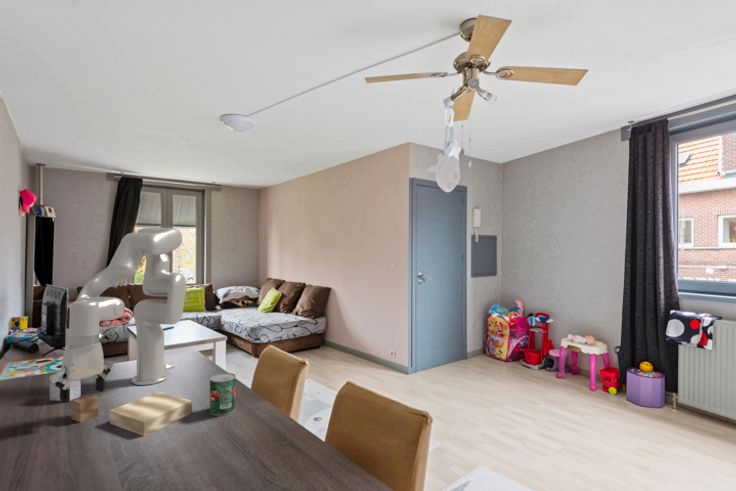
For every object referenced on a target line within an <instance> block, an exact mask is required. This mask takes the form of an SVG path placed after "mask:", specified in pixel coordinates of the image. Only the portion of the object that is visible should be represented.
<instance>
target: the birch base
mask: <svg viewBox="0 0 736 491" xmlns="http://www.w3.org/2000/svg"><path fill="white" fill-rule="evenodd" d="M192 413H193V400H190V399H186V398H183V397H179V396H176V395H172V394H168V393H165V392H162V391H157V392H154V393H153V394H152V393H151V394H150V395H147V396H144V397H142V398H138V399H136V400H134V401H130V402H129V403H126V404H123V405H120V406H118V407H115V408H113V409H111V410H109V425H112V426H115V427H118V428H120V429H123V430H126V431H128V432H129V431H130V432H133V433H134V434H137V435H140V436H143V437H145V436H148V435H150V434H151V433H154V432H156V431H158V430H161V429H162V428H164V427H166V426H168V425H170V424H172V423H174V422H176V421H179V420H181V419H183V418H186V417H187V416H189V415H192Z"/></svg>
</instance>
